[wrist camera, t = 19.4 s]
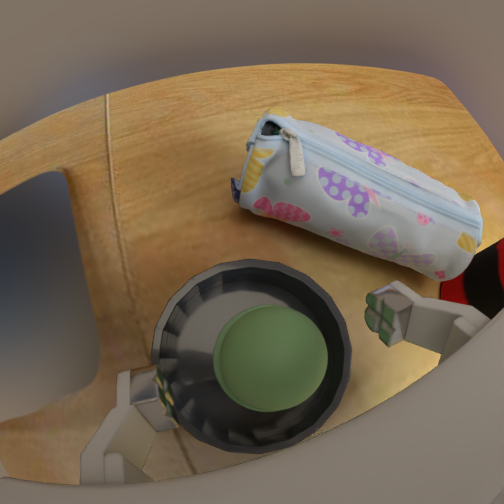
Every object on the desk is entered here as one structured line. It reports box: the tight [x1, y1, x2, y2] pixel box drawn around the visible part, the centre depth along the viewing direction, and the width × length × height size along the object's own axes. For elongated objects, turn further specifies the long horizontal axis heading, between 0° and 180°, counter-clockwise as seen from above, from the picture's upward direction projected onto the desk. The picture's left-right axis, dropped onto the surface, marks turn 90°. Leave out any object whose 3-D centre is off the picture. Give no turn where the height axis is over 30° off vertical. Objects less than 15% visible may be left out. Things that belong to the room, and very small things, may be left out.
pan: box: [151, 259, 352, 454], centre depth 19 cm, size 13×13×4 cm
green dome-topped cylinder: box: [213, 305, 328, 412], centre depth 15 cm, size 5×5×12 cm
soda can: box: [441, 238, 504, 320], centre depth 19 cm, size 8×8×12 cm
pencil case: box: [231, 107, 483, 282], centre depth 22 cm, size 21×9×10 cm, turn 70°
